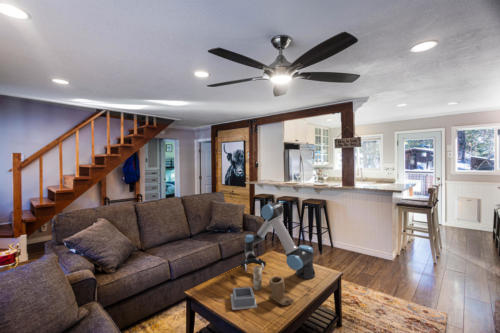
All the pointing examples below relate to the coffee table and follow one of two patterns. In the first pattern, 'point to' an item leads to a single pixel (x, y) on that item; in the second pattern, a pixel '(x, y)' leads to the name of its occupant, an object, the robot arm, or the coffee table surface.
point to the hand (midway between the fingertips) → (255, 269)
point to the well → (243, 298)
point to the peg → (257, 278)
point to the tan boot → (279, 291)
